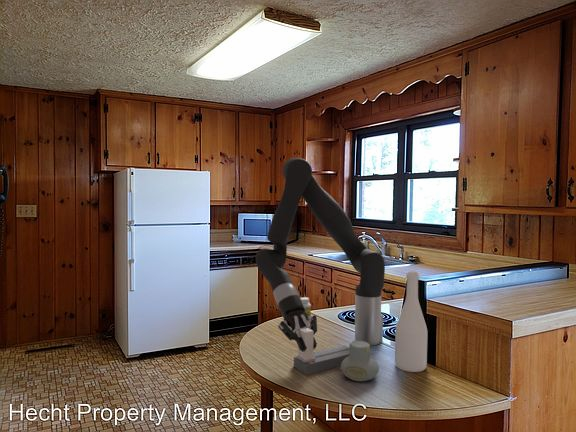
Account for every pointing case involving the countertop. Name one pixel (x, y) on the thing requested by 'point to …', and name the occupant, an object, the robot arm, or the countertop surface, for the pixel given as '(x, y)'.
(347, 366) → the air freshener
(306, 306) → the supplement bottle
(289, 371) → the countertop surface
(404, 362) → the wine bottle
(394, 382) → the countertop surface
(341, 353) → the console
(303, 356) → the fader tab
